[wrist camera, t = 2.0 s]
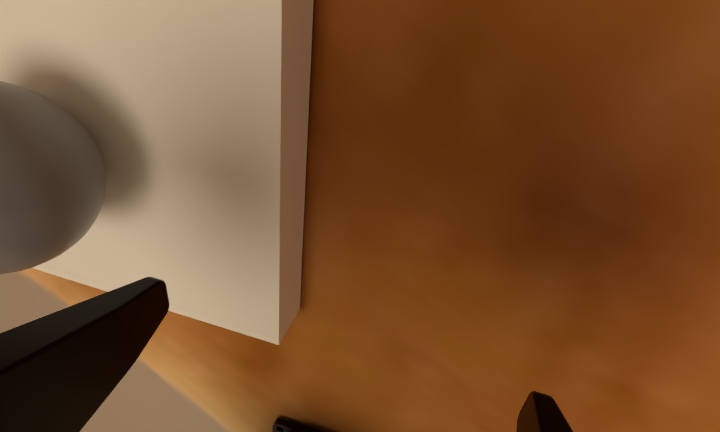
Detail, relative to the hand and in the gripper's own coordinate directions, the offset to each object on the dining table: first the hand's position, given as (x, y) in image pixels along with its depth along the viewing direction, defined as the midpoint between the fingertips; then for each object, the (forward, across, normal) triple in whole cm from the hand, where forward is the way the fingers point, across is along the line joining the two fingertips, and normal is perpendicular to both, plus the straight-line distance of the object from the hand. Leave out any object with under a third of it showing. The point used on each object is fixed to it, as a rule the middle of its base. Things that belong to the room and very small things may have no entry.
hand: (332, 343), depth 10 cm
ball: (+2, +13, 0) cm, 13 cm away
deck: (+8, +16, 0) cm, 18 cm away
